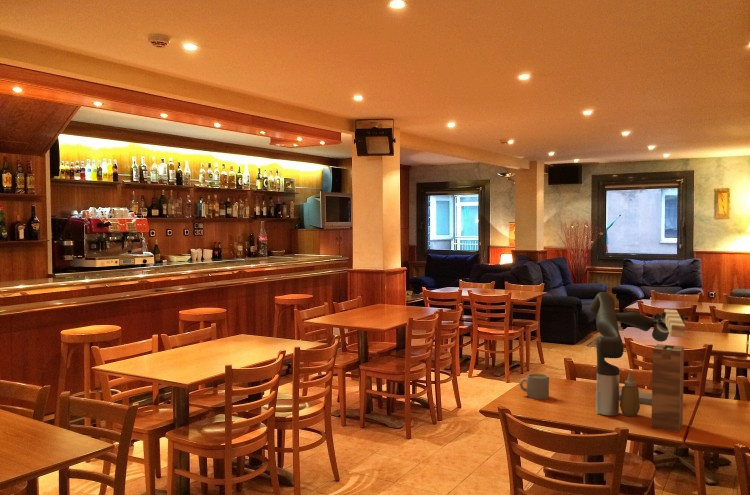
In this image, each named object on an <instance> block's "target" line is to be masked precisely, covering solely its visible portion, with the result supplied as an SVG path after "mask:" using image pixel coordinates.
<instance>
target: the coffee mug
mask: <svg viewBox="0 0 750 495" xmlns="http://www.w3.org/2000/svg"><path fill="white" fill-rule="evenodd" d="M524 382H526V387H524V385H523V383H524ZM519 387H520V389H521V390H522V391H524V392H525V393H526V396H527V398H529V397H530V399H533V400H546V398H547V399H549V398H548V397H549V396H550V376H549V375H548V374H545V373H540V372H539V373H537V372H536V373H535V372H534V373H533V372H532V373H528V374H527V377H524V378H521V380H520V381H519Z"/></svg>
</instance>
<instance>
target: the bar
mask: <svg viewBox="0 0 750 495" xmlns="http://www.w3.org/2000/svg"><path fill="white" fill-rule="evenodd" d="M663 310H664V312H665V315H666V316H665V318H664V322H665V324H666V326H667V328H668V331H669V335H670V337H673V338H674V337H675V338H685V329H686V326H685V323H683V321H682V319H681V317H680V315H679V314H680V312H678V310H677V309H671V308H670V309H668V308H667V309H666V308H665V309H663ZM664 312H663V313H664Z"/></svg>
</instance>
